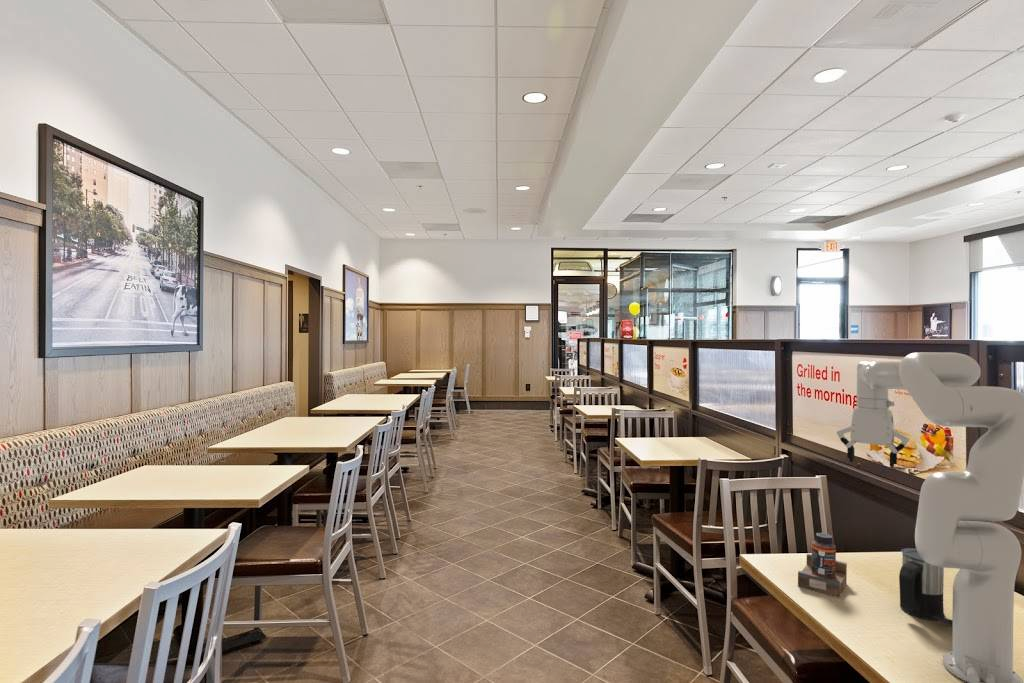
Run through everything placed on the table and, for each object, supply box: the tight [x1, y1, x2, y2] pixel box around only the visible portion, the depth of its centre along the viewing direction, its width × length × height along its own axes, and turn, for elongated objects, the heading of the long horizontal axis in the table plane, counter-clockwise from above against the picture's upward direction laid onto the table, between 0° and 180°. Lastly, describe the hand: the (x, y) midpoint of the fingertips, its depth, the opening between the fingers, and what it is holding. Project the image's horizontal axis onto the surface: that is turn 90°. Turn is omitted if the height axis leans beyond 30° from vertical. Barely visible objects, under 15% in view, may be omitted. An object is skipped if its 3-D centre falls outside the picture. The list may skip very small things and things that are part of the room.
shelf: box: [797, 553, 848, 598], centre depth 152 cm, size 12×10×6 cm
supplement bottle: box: [811, 532, 837, 579], centre depth 152 cm, size 6×6×11 cm
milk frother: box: [898, 547, 952, 625], centre depth 133 cm, size 14×16×15 cm
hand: (871, 463), depth 153 cm, fingers open, 9 cm apart
